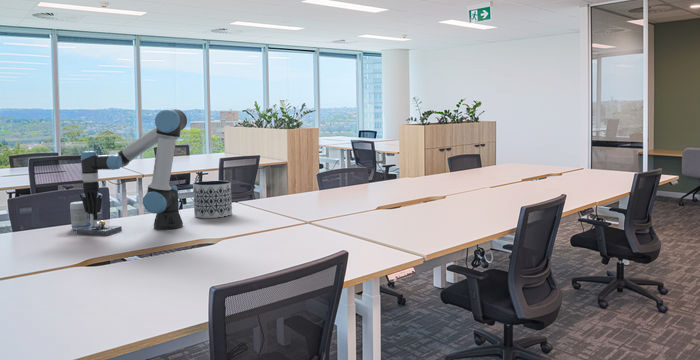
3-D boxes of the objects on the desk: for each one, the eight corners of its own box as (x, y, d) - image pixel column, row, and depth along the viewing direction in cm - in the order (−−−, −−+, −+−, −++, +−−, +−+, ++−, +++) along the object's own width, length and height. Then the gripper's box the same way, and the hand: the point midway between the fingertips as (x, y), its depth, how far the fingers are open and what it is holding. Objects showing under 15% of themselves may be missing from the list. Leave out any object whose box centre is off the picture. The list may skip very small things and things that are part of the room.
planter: (227, 218, 315) (225, 184, 313) (189, 219, 315) (187, 185, 313) (235, 212, 337) (234, 180, 335) (200, 212, 338) (199, 180, 335)
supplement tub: (92, 229, 289) (90, 202, 288) (72, 231, 284) (70, 204, 283) (89, 226, 298) (87, 200, 296) (70, 228, 292) (68, 202, 291)
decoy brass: (106, 226, 285) (106, 220, 284) (102, 227, 282) (102, 221, 281) (101, 225, 285) (101, 220, 285) (97, 227, 282) (97, 221, 282)
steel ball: (96, 226, 280) (101, 229, 280) (91, 227, 277) (96, 230, 277) (98, 220, 280) (103, 223, 279) (93, 222, 277) (98, 225, 276)
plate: (121, 230, 284) (121, 226, 283) (106, 235, 272) (105, 230, 272) (93, 229, 288) (92, 225, 288) (76, 234, 277) (76, 229, 276)
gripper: (106, 180, 278) (109, 224, 281) (85, 180, 281) (88, 224, 284) (96, 182, 271) (99, 227, 274) (74, 181, 274) (78, 226, 277)
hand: (93, 225), depth 279 cm, fingers closed
